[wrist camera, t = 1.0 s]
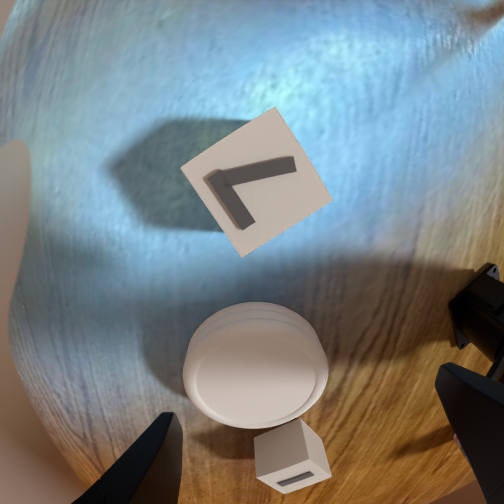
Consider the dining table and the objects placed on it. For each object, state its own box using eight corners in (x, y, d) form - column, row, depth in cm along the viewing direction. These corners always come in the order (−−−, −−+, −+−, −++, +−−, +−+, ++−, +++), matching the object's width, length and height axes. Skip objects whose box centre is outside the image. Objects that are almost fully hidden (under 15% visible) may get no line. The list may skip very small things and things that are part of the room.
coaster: (233, 272, 20) (232, 294, 16) (344, 337, 21) (359, 364, 18) (166, 369, 22) (158, 399, 18) (268, 415, 24) (272, 444, 20)
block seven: (308, 190, 18) (334, 200, 13) (241, 233, 19) (242, 259, 14) (265, 121, 17) (275, 105, 12) (196, 166, 17) (179, 167, 12)
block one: (321, 439, 25) (332, 478, 20) (279, 456, 26) (284, 495, 21) (299, 417, 24) (309, 460, 19) (253, 436, 24) (256, 479, 19)
